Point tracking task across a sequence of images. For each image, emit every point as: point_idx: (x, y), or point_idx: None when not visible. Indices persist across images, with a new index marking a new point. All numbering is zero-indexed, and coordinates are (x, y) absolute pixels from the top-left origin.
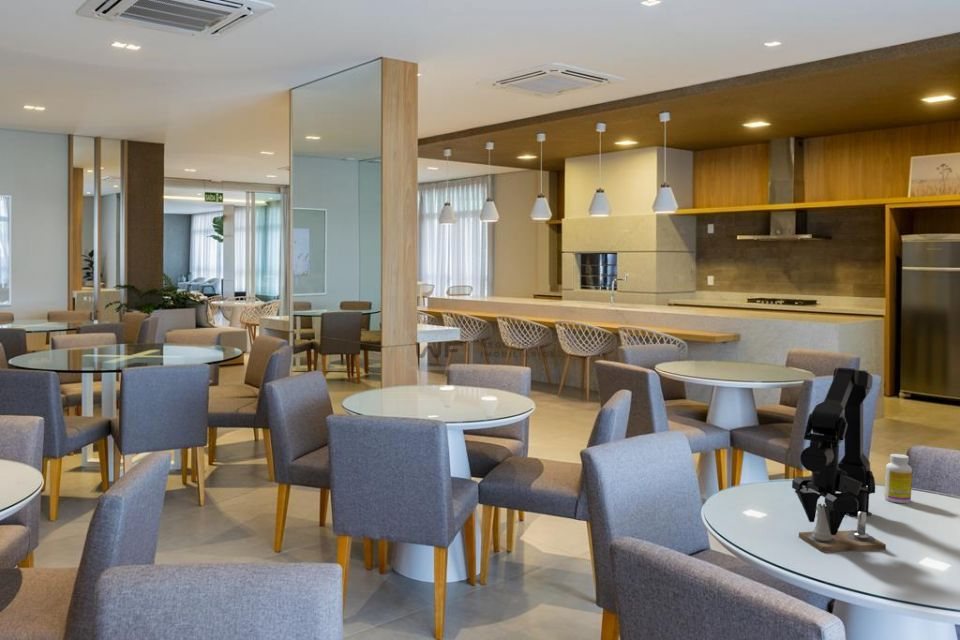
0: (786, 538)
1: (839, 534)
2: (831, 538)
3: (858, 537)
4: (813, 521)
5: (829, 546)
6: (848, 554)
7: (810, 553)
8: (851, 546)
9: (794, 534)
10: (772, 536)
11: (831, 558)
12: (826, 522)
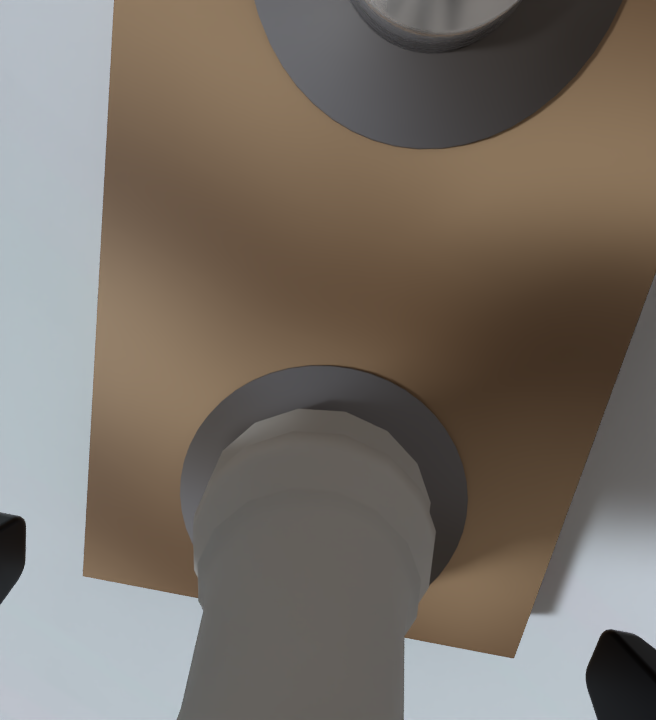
0: (119, 647)
1: (241, 174)
2: (417, 470)
3: (487, 33)
4: (18, 528)
5: (537, 588)
6: (649, 437)
7: (483, 707)
8: (622, 346)
9: (31, 521)
10: (55, 710)
11: (647, 642)
12: (399, 711)
